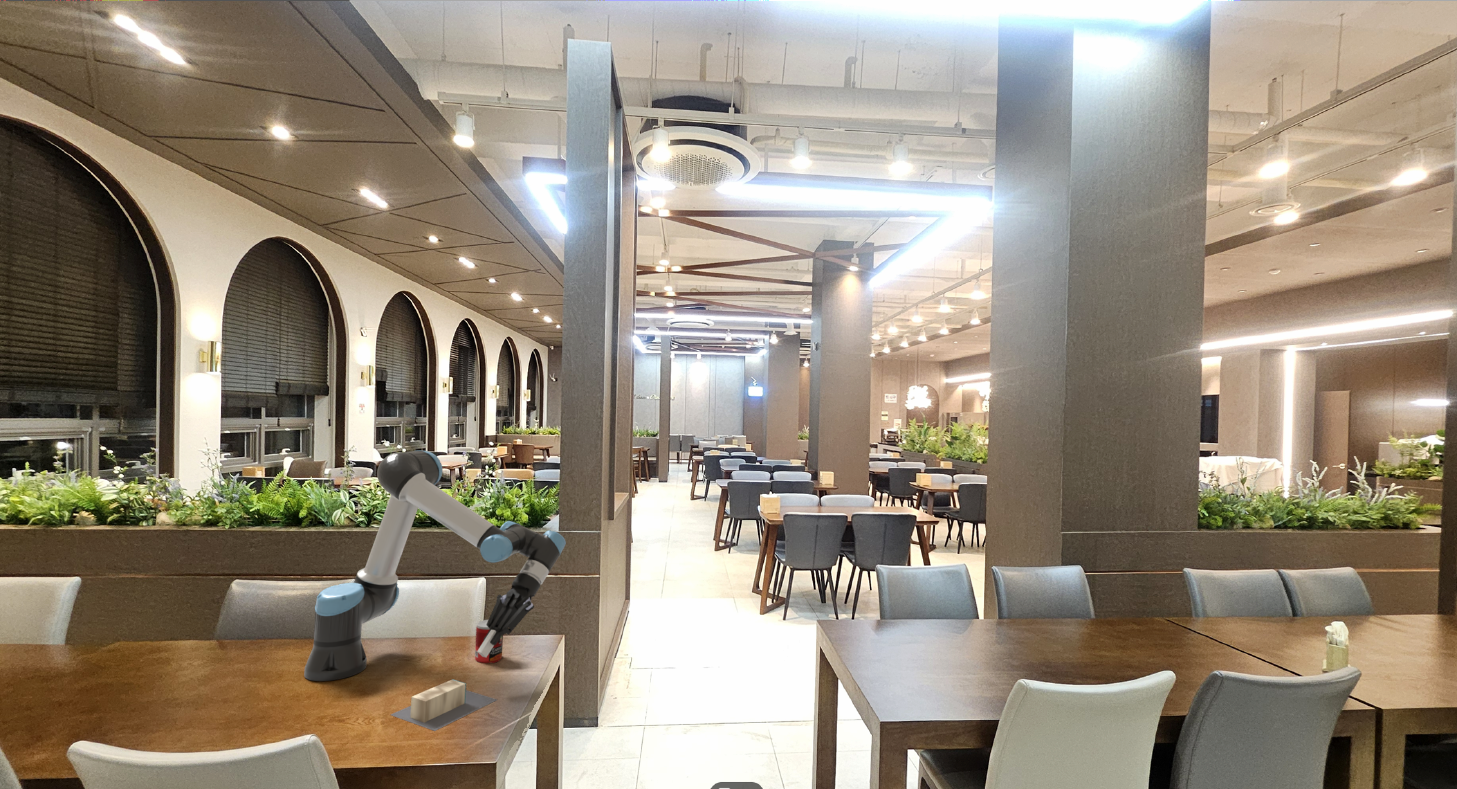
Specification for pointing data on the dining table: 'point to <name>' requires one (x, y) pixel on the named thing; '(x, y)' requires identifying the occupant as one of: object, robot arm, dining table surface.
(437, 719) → the mat
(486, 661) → the canned food
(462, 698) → the beech block
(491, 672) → the dining table surface
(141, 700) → the dining table surface
